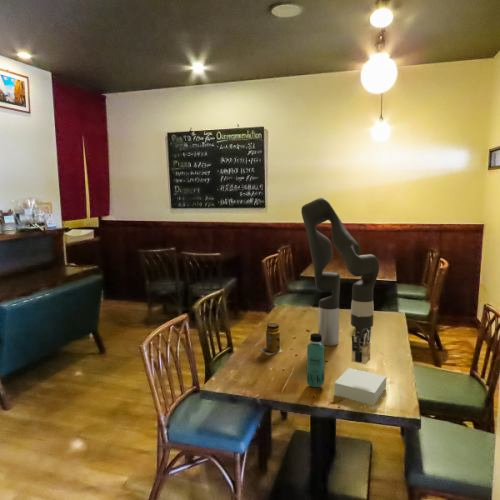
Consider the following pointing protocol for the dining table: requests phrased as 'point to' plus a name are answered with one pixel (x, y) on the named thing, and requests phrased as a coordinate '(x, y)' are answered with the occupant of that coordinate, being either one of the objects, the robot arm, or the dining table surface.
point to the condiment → (272, 339)
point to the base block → (360, 386)
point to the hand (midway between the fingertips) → (361, 358)
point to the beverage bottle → (315, 361)
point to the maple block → (363, 354)
